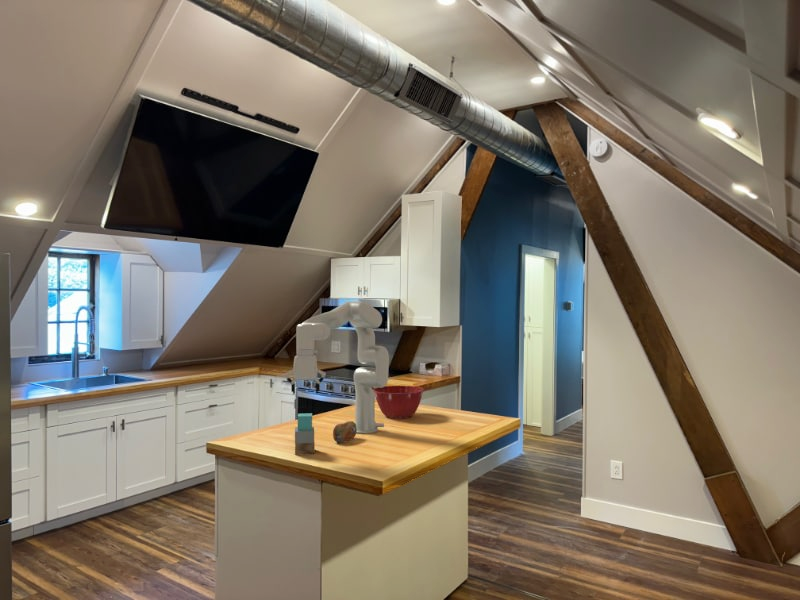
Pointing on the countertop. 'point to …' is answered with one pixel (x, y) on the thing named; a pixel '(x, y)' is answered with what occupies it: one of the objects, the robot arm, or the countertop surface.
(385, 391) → the mixing bowl
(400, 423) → the countertop surface
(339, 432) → the tin
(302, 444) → the tower base
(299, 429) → the teal cube
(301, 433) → the block
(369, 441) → the countertop surface
